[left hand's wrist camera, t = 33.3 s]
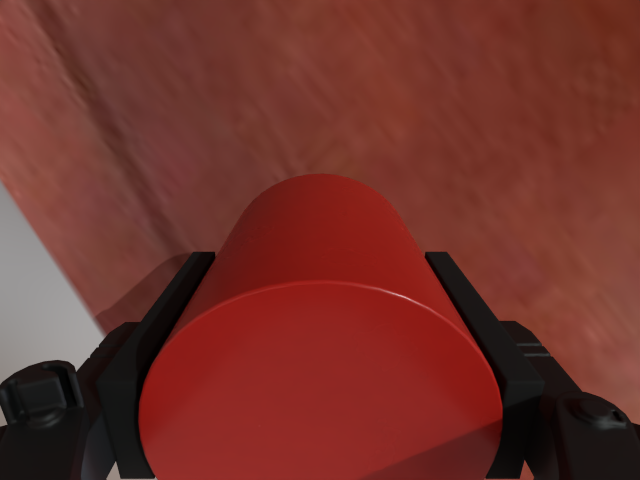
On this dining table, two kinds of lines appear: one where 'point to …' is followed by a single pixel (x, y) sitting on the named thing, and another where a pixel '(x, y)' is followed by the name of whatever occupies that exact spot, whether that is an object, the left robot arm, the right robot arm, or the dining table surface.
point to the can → (320, 354)
